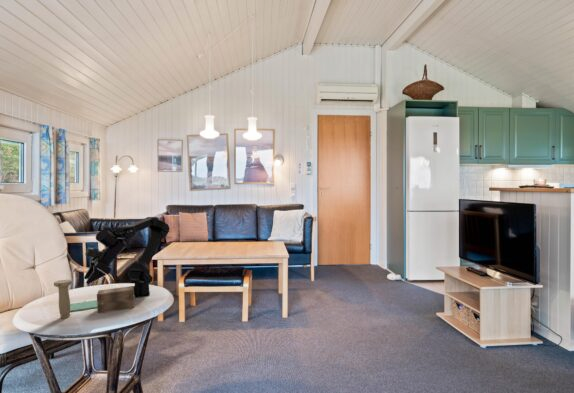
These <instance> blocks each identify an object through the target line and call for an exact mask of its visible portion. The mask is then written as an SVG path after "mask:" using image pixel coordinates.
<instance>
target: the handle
mask: <svg viewBox="0 0 574 393" xmlns="http://www.w3.org/2000/svg"><path fill="white" fill-rule="evenodd" d="M71 284H73V280H72V279H60V280H57V281H54V282H53V286H54V287H55V288H57V289H58V308H59V309H58V310H59V315H60V319H63V320H64V319H67V318H69V317H70V316H71V312H70V304H71V299H70V292H69V286H70V285H71Z"/></svg>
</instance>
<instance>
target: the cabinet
mask: <svg viewBox="0 0 574 393" xmlns="http://www.w3.org/2000/svg"><path fill="white" fill-rule="evenodd" d="M134 286H135V285H129V286H123V287H115V288H108V289H106V288H105V289H99V290H97V293H96V300H97V307H98V308H97V313H98V314H100V313H101V314H102V313H107V312H114V311H122V310H127V309H133V308H135V296H134Z"/></svg>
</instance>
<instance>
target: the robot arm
mask: <svg viewBox="0 0 574 393" xmlns="http://www.w3.org/2000/svg"><path fill="white" fill-rule="evenodd" d="M147 228H148V229H149V230H150V239H149V241H147V245H146V246H145V248H144V250H143V252H142V255H141V257H140V259H139V261H138V262H133V263H132V264H131V266H130V268H129V269H128V275H127V276H128V278H129V281H130V283H131V284H134V285H133V286H134V299H135V298H142V297H149V296H151V295H150V294H151V292H150V283H152V282H153V278H154V277H153V276H152V275H151V274H150V264H151V261H152V260H153V258H154V255H155V253H156V251H157V249H158V246H159V244H160V242H161V241H162V240H164V238H166V236H168V233H169V232H170V226H169V224H168V223H166V222H165V221H162V220H160V219H158V218H157V217H155V216H148V217H146V218H143V219H141V220H138V221H137V222H133V223H131V224H124V225H118V226H116V227H115V229H114V230H112V229H111V228H110V227H109V226H107V227H106V226H104V228H103V229H101V230H100V231H98V232H97V233H96V235H95V239H96V240H95V241H97V242H99V243H100V244H102V245H103V246H105V247H106V248H102V249H101V250H99V248H96V247H87V249H86V251H85V252H84V253H85V254H84V255H85V256H86V257H91V258H90V260H89V265H90V266H89V268H88V270H87V272H85V274H84V276H83V279H85V280H86V282H85V283H86V284H87V285H89V284H92V283H93V282H95V281H97V280H99V279H100V278H102V277H105V276H107V275H109V274H110V273H111V272H112V268H111V264H112V262H114V260H117V258H118V256H119V255H120V254H121V253H122V252H123V251H124V249H125V248H126V249H128V250H129V249H131V248H130V242H129V241H128V240H130V239H132V238H133V237H135V236H136V235H137V233H138V232H140V231H143V230H146V229H147Z"/></svg>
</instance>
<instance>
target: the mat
mask: <svg viewBox="0 0 574 393" xmlns="http://www.w3.org/2000/svg"><path fill="white" fill-rule="evenodd" d="M92 309H98V307H97V299H96V300H90V301H80V302H74V303H70V313H72V312H73V313H74V312H80V311H87V310H92Z"/></svg>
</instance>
